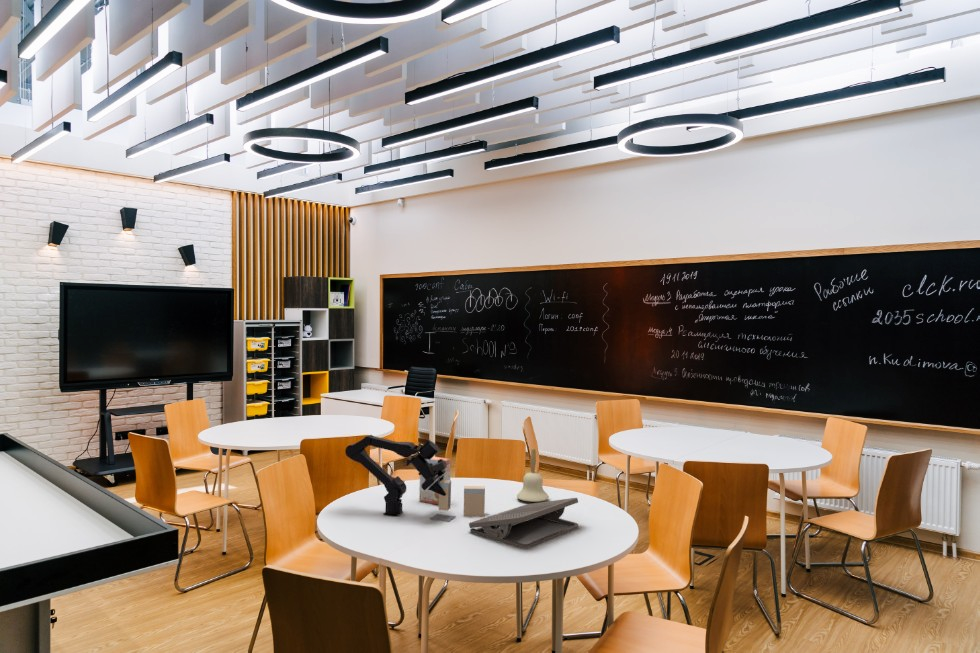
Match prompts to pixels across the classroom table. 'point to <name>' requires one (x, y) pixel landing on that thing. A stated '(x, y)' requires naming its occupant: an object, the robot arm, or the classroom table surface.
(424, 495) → the cracker box
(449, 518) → the mat
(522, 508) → the foot rest
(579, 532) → the classroom table surface
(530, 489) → the handbell
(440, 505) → the stub
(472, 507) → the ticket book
